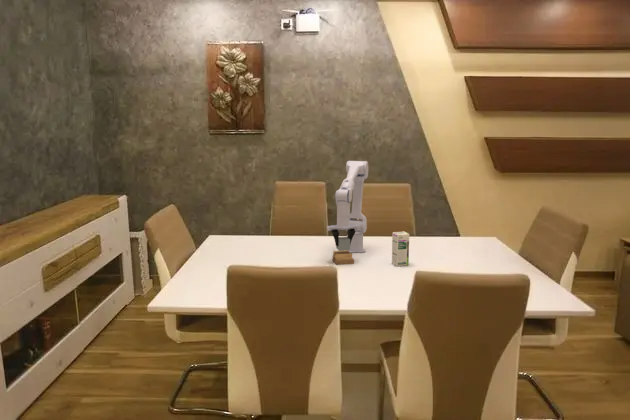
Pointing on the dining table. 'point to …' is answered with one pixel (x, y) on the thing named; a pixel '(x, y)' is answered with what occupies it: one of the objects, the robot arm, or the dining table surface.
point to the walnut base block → (342, 261)
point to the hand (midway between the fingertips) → (342, 245)
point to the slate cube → (343, 243)
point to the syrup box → (400, 248)
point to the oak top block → (342, 255)
